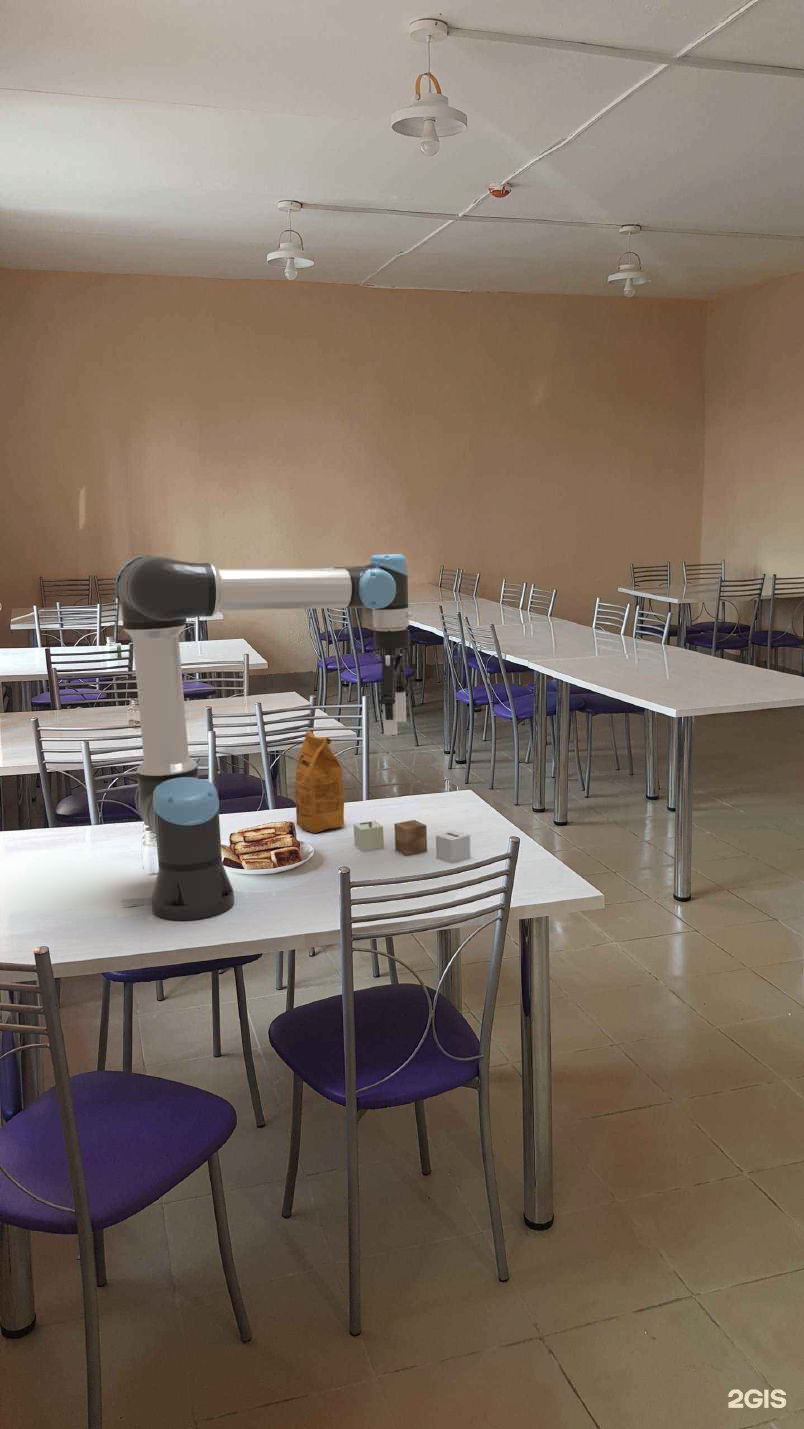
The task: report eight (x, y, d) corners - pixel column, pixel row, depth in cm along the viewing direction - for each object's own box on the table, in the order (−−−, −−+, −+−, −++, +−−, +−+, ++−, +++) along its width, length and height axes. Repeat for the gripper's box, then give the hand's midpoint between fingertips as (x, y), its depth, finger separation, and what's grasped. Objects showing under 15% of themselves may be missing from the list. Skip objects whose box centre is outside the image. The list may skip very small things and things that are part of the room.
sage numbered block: (362, 852, 228) (361, 829, 227) (354, 845, 232) (353, 823, 231) (383, 848, 230) (382, 825, 229) (375, 842, 234) (374, 820, 233)
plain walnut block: (406, 856, 224) (405, 829, 223) (395, 850, 228) (394, 823, 227) (427, 852, 226) (426, 825, 225) (415, 846, 230) (414, 819, 229)
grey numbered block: (452, 863, 218) (451, 839, 217) (436, 858, 222) (435, 834, 221) (470, 858, 221) (469, 834, 220) (454, 852, 225) (453, 829, 224)
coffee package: (329, 816, 256) (325, 727, 252) (349, 829, 245) (345, 735, 241) (290, 822, 252) (285, 731, 248) (309, 835, 240) (304, 741, 236)
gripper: (400, 635, 209) (404, 740, 213) (416, 622, 234) (420, 716, 237) (363, 636, 210) (368, 740, 214) (383, 622, 235) (387, 716, 239)
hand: (395, 728), depth 226 cm, fingers open, 13 cm apart
